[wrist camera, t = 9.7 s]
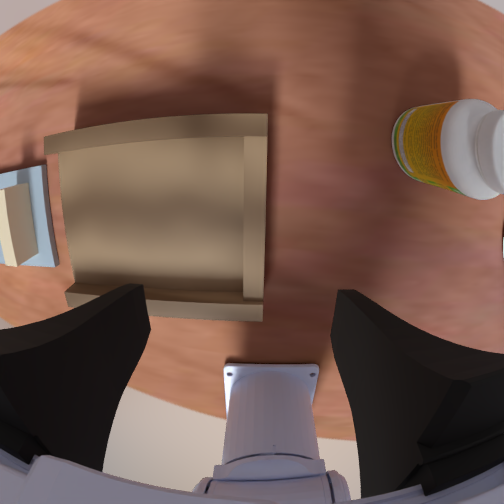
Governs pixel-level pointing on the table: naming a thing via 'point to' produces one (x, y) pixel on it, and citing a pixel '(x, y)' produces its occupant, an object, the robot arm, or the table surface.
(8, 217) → the lid
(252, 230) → the box
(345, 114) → the table surface
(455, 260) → the table surface
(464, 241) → the table surface
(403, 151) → the supplement bottle
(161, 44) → the table surface
